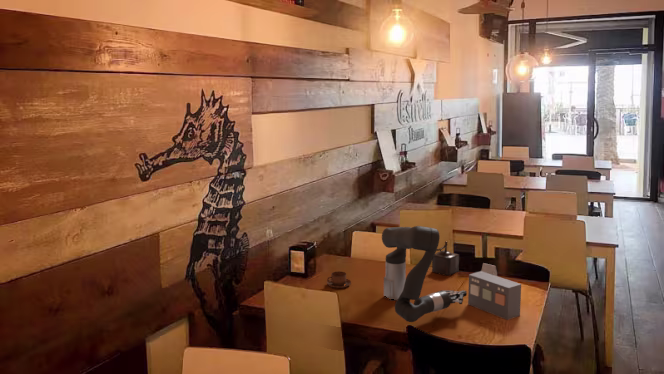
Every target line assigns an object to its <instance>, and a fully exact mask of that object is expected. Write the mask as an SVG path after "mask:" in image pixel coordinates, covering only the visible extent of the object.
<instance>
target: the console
mask: <svg viewBox="0 0 664 374" xmlns="http://www.w3.org/2000/svg"><path fill="white" fill-rule="evenodd" d="M471 284H476V285H478V286H480V296H475V295H473V294H470V287H471ZM483 288H487V289H490V290H492V301H489V300H486V299H483ZM467 290H468V296H467V300H468V301H467V304H468V305H469V306H471V307H473V308H476V309H478V310H481V311H483V312H486V313H489V314H491V315H494V316H497V317H499V318H502V319H504V320H506V321H509V320H512V319H513V318H517V317H520V316H521V304H522V303H521V301H522V299H521V298H522V283H518V282H517V281H513V280H510V279H507V278H503V277H501V276H498V275H497V276H495V275H491V274H488V273H485V272H482V271H481V270H480V271H475V272H473V273H470V274H469V273H468V289H467ZM497 292H498V293H501V294H504V295H506V298H505V306H502V305H500V304H497V303H495V294H496V293H497Z"/></svg>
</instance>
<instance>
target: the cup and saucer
mask: <svg viewBox="0 0 664 374" xmlns="http://www.w3.org/2000/svg"><path fill="white" fill-rule="evenodd" d="M351 283H352V281H351V280H350V279H349V278H347V273H346V272H345V271H334V272H331V275H330V276H328V277H327V278H326V284H327V286H329V287H331V288H335V289H336V288H338V289H341V288H342V289H343V288H347V287H349V286H350V285H351ZM344 284H346V285H345V286H344Z"/></svg>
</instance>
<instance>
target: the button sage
mask: <svg viewBox="0 0 664 374" xmlns="http://www.w3.org/2000/svg"><path fill="white" fill-rule="evenodd" d="M483 299H486V300H489V301H492V290H490V289H487V288H483Z"/></svg>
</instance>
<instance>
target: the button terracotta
mask: <svg viewBox="0 0 664 374" xmlns="http://www.w3.org/2000/svg"><path fill="white" fill-rule="evenodd" d="M505 298H506V295H504V294H501V293H498V292H497V293H496V294H495V303H497V304H500V305H502V306H505Z"/></svg>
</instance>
